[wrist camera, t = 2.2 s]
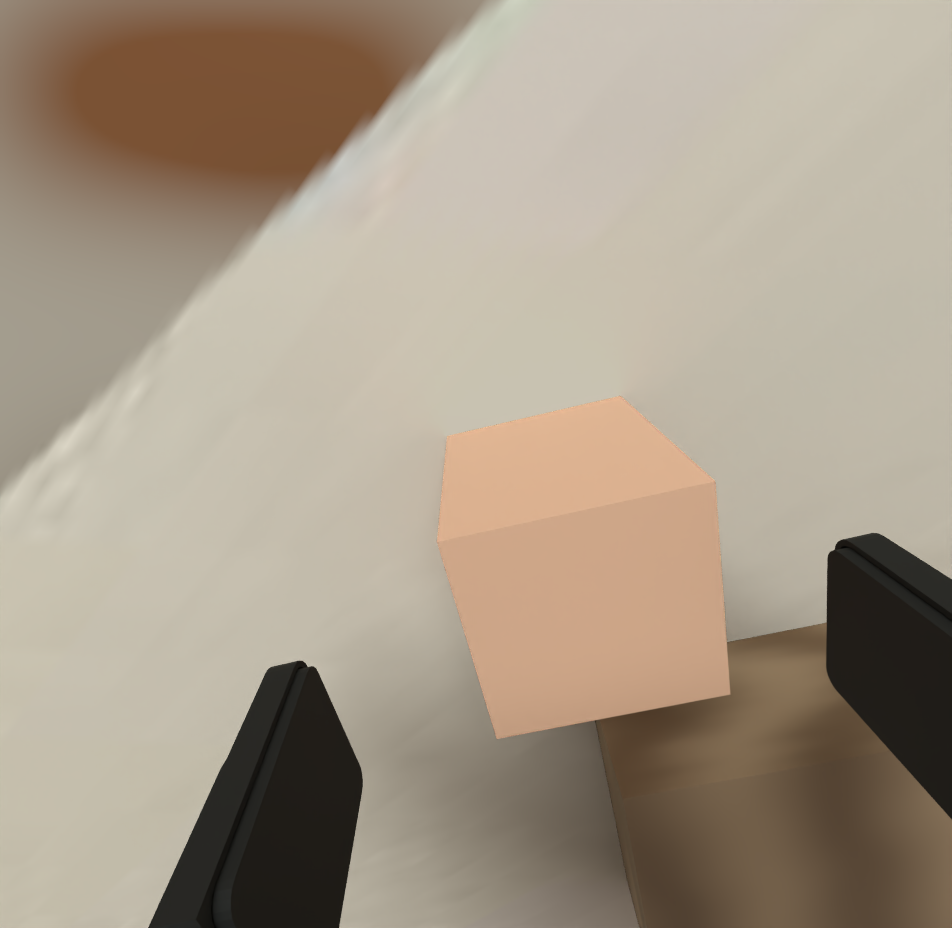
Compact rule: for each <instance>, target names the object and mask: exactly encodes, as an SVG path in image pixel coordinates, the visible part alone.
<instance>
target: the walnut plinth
mask: <svg viewBox="0 0 952 928" xmlns="http://www.w3.org/2000/svg"><path fill="white" fill-rule="evenodd" d="M826 638H827V623H823V624H818V625H813V626H808V627H803V628H798V629H793V630H787V631H782V632H777V633H772V634H767V635H762V636H757V637H752V638H747V639H742V640H737V641H731V642H727V653H728V667H729V681H730V695H725V696H720V697H715V698H709V699H704V700H699V701H693V702H688V703H683V704H678V705H672V706H667V707H662V708H657V709H651V710H646V711H641V712H636V713H630V714H625V715H620V716H615V717H609V718H604V719H599V720H595V722H596V727H597V732H598V737H599V742H600V747H601V752H602V757H603V762H604V767H605V772H606V777H607V782H608V787H609V792H610V797H611V802H612V807H613V812H614V817H615V822H616V827H617V832H618V837H619V842H620V847H621V852H622V857H623V862H624V867H625V872H626V877H627V881H628V885H629V889H630V893H631V897H632V901H633V904H634V908H635V912H636V916H637V920H638V924H639V927H640V928H952V819H951V818H950V817H949V816H948V815H947V814H946V813H945V811H944V810H943V809H942V808H941V807H940V806H939V805H938V804H937V802H936V801H935V800H934V799H933V798H932V797H931V796H930V795H929V794H928V792H927V791H926V790H925V789H924V788H923V787H922V786H921V785H920V783H919V782H918V781H917V780H916V779H915V778H914V777H913V776H912V775H911V773H910V772H909V771H908V770H907V769H906V768H905V767H904V766H903V764H902V763H901V762H900V761H899V760H898V759H897V758H896V757H895V756H894V754H893V753H892V752H891V751H890V750H889V749H888V748H887V747H886V745H885V744H884V743H883V742H882V741H881V740H880V739H879V738H878V736H877V735H876V734H875V733H874V732H873V731H872V730H871V729H870V728H869V726H868V725H867V724H866V723H865V722H864V721H863V720H862V719H861V717H860V716H859V715H858V714H857V713H856V712H855V711H854V710H853V709H852V707H851V706H850V705H849V704H848V703H847V702H846V701H845V700H844V698H843V697H842V696H841V695H840V694H839V693H838V692H837V691H836V689H835V688H834V687H833V685H832V683H831V682H830V679H829V677H828V674H827V670H826Z"/></svg>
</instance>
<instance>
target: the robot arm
mask: <svg viewBox="0 0 952 928" xmlns="http://www.w3.org/2000/svg"><path fill="white" fill-rule="evenodd" d="M826 670H827V674H828V677H829V679H830V682H831V683H832V685H833V687H834V688H835V689H836V691H837V692H838V693H839V694H840V695H841V696H842V697H843V698H844V700H845V701H846V702H847V703H848V704H849V705H850V706H851V707H852V709H853V710H854V711H855V712H856V713H857V714H858V715H859V716H860V717H861V719H862V720H863V721H864V722H865V723H866V724H867V725H868V726H869V728H870V729H871V730H872V731H873V732H874V733H875V734H876V735H877V736H878V738H879V739H880V740H881V741H882V742H883V743H884V744H885V745H886V747H887V748H888V749H889V750H890V751H891V752H892V753H893V754H894V756H895V757H896V758H897V759H898V760H899V761H900V762H901V763H902V764H903V766H904V767H905V768H906V769H907V770H908V771H909V772H910V773H911V775H912V776H913V777H914V778H915V779H916V780H917V781H918V782H919V783H920V785H921V786H922V787H923V788H924V789H925V790H926V791H927V792H928V794H929V795H930V796H931V797H932V798H933V799H934V800H935V801H936V802H937V804H938V805H939V806H940V807H941V808H942V809H943V810H944V811H945V813H946V814H947V815H948V816H949V817H950V818H951V819H952V579H950V578H949V577H947V576H945V575H944V574H942V573H941V572H939V571H938V570H936V569H934V568H933V567H931V566H930V565H928V564H927V563H925V562H924V561H922V560H920V559H919V558H917V557H916V556H914V555H913V554H911V553H909V552H908V551H906V550H905V549H903V548H902V547H900V546H898V545H897V544H895V543H894V542H892V541H891V540H889V539H887V538H886V537H884V536H882V535H880V534H878V533H870V534H866V535H861V536H857V537H852V538H848V539H843V540H841V541H838V542H837V544H836V546H835V550H834V551H831V552H830V553H829V555H828V568H827V638H826ZM362 787H363V778H362V771H361V768H360V765H359V763H358V760H357V758H356V756H355V754H354V751H353V749H352V747H351V745H350V742H349V740H348V738H347V736H346V733H345V731H344V729H343V727H342V725H341V722H340V720H339V718H338V716H337V713H336V711H335V709H334V707H333V704H332V702H331V700H330V698H329V695H328V693H327V691H326V689H325V687H324V684H323V682H322V680H321V678H320V675H319V673H318V671H317V669H316V668H315V667H312V666H311V667H307V665H306V663H304V662H303V661H296V662H291V663H287V664H282V665H278V666H273V667H271V668H269V669H268V670H267V672H266V673H265V676H264V678H263V680H262V682H261V685H260V687H259V689H258V691H257V693H256V696H255V698H254V700H253V702H252V704H251V707H250V709H249V711H248V713H247V715H246V718H245V720H244V722H243V724H242V727H241V729H240V731H239V733H238V735H237V738H236V740H235V742H234V744H233V746H232V749H231V751H230V753H229V755H228V757H227V760H226V761H225V763H224V764H223V766H222V768H221V769H220V772H219V774H218V776H217V778H216V780H215V783H214V785H213V787H212V789H211V791H210V793H209V796H208V798H207V800H206V802H205V804H204V807H203V809H202V811H201V813H200V815H199V818H198V820H197V822H196V824H195V826H194V829H193V831H192V833H191V835H190V837H189V840H188V842H187V844H186V846H185V848H184V851H183V853H182V855H181V857H180V859H179V862H178V864H177V866H176V868H175V870H174V873H173V875H172V877H171V879H170V881H169V883H168V886H167V888H166V890H165V892H164V894H163V897H162V899H161V901H160V903H159V905H158V908H157V910H156V912H155V914H154V916H153V919H152V921H151V923H150V925H149V927H148V928H339V924H340V918H341V912H342V906H343V900H344V894H345V889H346V883H347V877H348V871H349V865H350V859H351V853H352V847H353V841H354V836H355V830H356V824H357V818H358V812H359V806H360V800H361V794H362Z"/></svg>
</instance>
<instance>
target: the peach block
mask: <svg viewBox="0 0 952 928" xmlns="http://www.w3.org/2000/svg"><path fill="white" fill-rule="evenodd" d="M437 543H438V547H439V550H440V553H441V557H442V560H443V563H444V566H445V570H446V573H447V576H448V580H449V583H450V586H451V590H452V593H453V596H454V599H455V603H456V606H457V609H458V613H459V616H460V619H461V623H462V626H463V629H464V632H465V636H466V639H467V642H468V646H469V649H470V652H471V656H472V659H473V662H474V665H475V669H476V672H477V675H478V679H479V682H480V685H481V689H482V692H483V695H484V698H485V702H486V705H487V708H488V712H489V715H490V718H491V722H492V725H493V728H494V731H495V735H496V738H497V739H499V738H504V737H510V736H515V735H520V734H525V733H531V732H536V731H541V730H546V729H552V728H557V727H562V726H567V725H573V724H578V723H583V722H588V721H594V720H599V719H604V718H609V717H615V716H620V715H625V714H630V713H636V712H641V711H646V710H651V709H657V708H662V707H667V706H672V705H678V704H683V703H688V702H693V701H699V700H704V699H709V698H715V697H720V696H725V695H730V681H729V667H728V653H727V639H726V625H725V611H724V596H723V582H722V568H721V554H720V540H719V526H718V512H717V498H716V483H715V480H713V479H712V478H711V477H710V476H709V475H708V474H707V473H706V472H705V471H703V470H702V469H701V468H700V467H699V466H698V465H697V464H696V463H695V462H693V461H692V460H691V459H690V458H689V457H688V456H687V455H686V454H685V453H683V452H682V451H681V450H680V449H679V448H678V447H677V446H676V445H675V444H673V443H672V442H671V441H670V440H669V439H668V438H667V437H666V436H665V435H663V434H662V433H661V432H660V431H659V430H658V429H657V428H656V427H655V426H653V425H652V424H651V423H650V422H649V421H648V420H647V419H646V418H645V417H643V416H642V415H641V414H640V413H639V412H638V411H637V410H636V409H635V408H633V407H632V406H631V405H630V404H629V403H628V402H627V401H626V400H625V399H623V398H622V397H621V396H618V397H614V398H609V399H605V400H601V401H596V402H592V403H588V404H583V405H579V406H575V407H570V408H566V409H562V410H557V411H553V412H549V413H545V414H540V415H536V416H532V417H527V418H523V419H519V420H514V421H510V422H506V423H501V424H497V425H493V426H488V427H484V428H480V429H476V430H471V431H467V432H463V433H458V434H454V435H450V436H447V444H446V454H445V464H444V475H443V485H442V496H441V506H440V517H439V527H438V537H437Z"/></svg>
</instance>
